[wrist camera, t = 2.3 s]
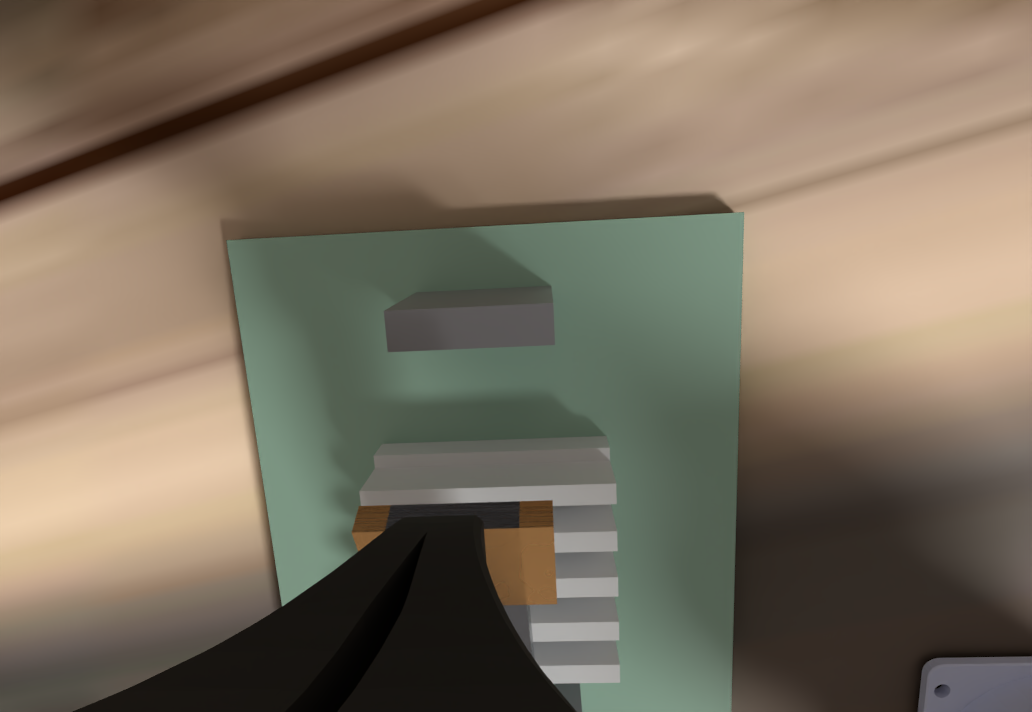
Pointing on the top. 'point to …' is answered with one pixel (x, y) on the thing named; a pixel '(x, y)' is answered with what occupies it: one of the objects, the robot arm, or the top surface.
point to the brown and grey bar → (492, 548)
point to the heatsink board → (520, 420)
